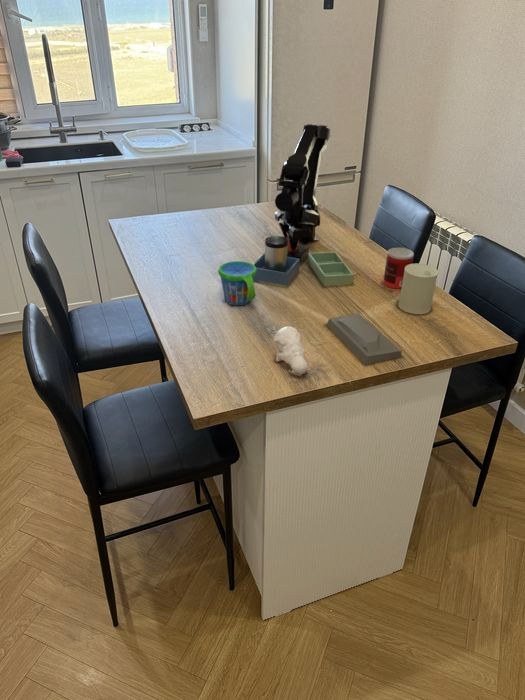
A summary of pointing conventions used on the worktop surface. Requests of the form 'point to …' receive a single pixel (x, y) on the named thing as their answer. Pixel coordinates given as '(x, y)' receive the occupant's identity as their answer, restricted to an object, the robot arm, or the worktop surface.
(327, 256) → the tray
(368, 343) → the soap mold
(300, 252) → the black square plate
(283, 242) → the travel mug
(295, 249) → the tap knob
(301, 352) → the white animal figurine
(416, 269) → the can
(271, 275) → the basin
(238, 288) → the snack cup
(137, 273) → the worktop surface
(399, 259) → the canned food
